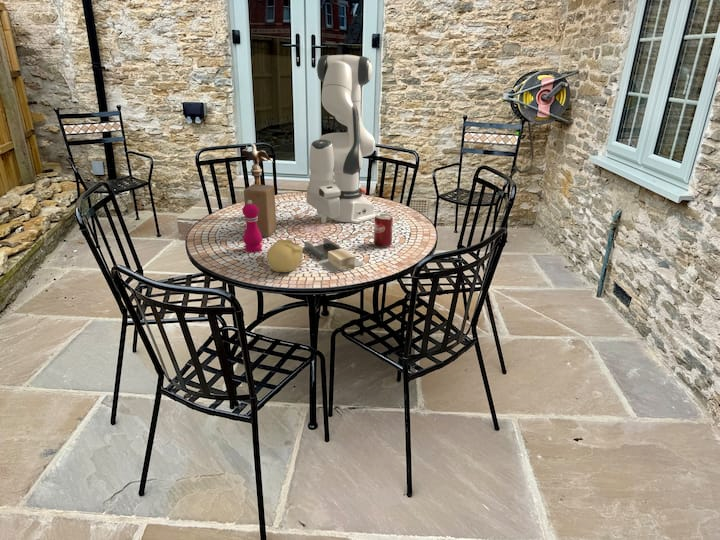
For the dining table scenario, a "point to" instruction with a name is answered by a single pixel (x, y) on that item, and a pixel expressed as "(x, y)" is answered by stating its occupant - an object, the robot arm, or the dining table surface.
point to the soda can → (383, 230)
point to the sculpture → (284, 256)
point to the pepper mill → (251, 228)
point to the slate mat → (331, 267)
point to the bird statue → (256, 161)
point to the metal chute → (321, 248)
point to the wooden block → (263, 207)
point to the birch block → (341, 259)
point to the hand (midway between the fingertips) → (322, 221)
